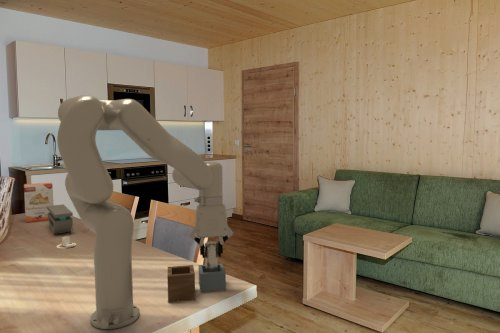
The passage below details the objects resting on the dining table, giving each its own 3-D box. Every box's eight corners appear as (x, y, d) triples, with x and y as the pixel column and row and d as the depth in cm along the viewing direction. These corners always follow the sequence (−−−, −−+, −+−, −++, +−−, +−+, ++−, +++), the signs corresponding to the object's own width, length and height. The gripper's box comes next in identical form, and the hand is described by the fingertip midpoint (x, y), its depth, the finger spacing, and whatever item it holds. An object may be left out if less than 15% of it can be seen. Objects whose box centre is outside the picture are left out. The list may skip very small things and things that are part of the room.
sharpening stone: (73, 234, 185) (72, 212, 184) (55, 237, 181) (54, 214, 179) (64, 224, 205) (63, 204, 204) (48, 226, 201) (47, 206, 200)
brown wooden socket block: (195, 299, 115) (194, 274, 114) (168, 302, 113) (167, 276, 112) (193, 289, 122) (193, 265, 122) (168, 291, 121) (167, 266, 120)
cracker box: (25, 223, 208) (23, 185, 206) (26, 220, 213) (23, 183, 211) (54, 220, 215) (52, 183, 213) (54, 217, 220) (52, 182, 218)
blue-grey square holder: (225, 290, 121) (225, 272, 121) (200, 292, 120) (200, 274, 119) (222, 280, 129) (222, 263, 129) (198, 282, 128) (198, 265, 127)
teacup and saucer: (75, 248, 165) (75, 239, 165) (55, 250, 162) (54, 241, 162) (76, 243, 173) (76, 234, 173) (57, 245, 170) (56, 236, 170)
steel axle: (218, 286, 123) (218, 244, 122) (206, 287, 122) (205, 245, 121) (216, 282, 127) (216, 241, 125) (204, 283, 126) (204, 241, 125)
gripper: (184, 204, 116) (185, 262, 118) (238, 202, 120) (239, 258, 122) (183, 199, 124) (184, 254, 125) (234, 197, 127) (235, 250, 129)
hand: (211, 255), depth 123 cm, fingers open, 4 cm apart
